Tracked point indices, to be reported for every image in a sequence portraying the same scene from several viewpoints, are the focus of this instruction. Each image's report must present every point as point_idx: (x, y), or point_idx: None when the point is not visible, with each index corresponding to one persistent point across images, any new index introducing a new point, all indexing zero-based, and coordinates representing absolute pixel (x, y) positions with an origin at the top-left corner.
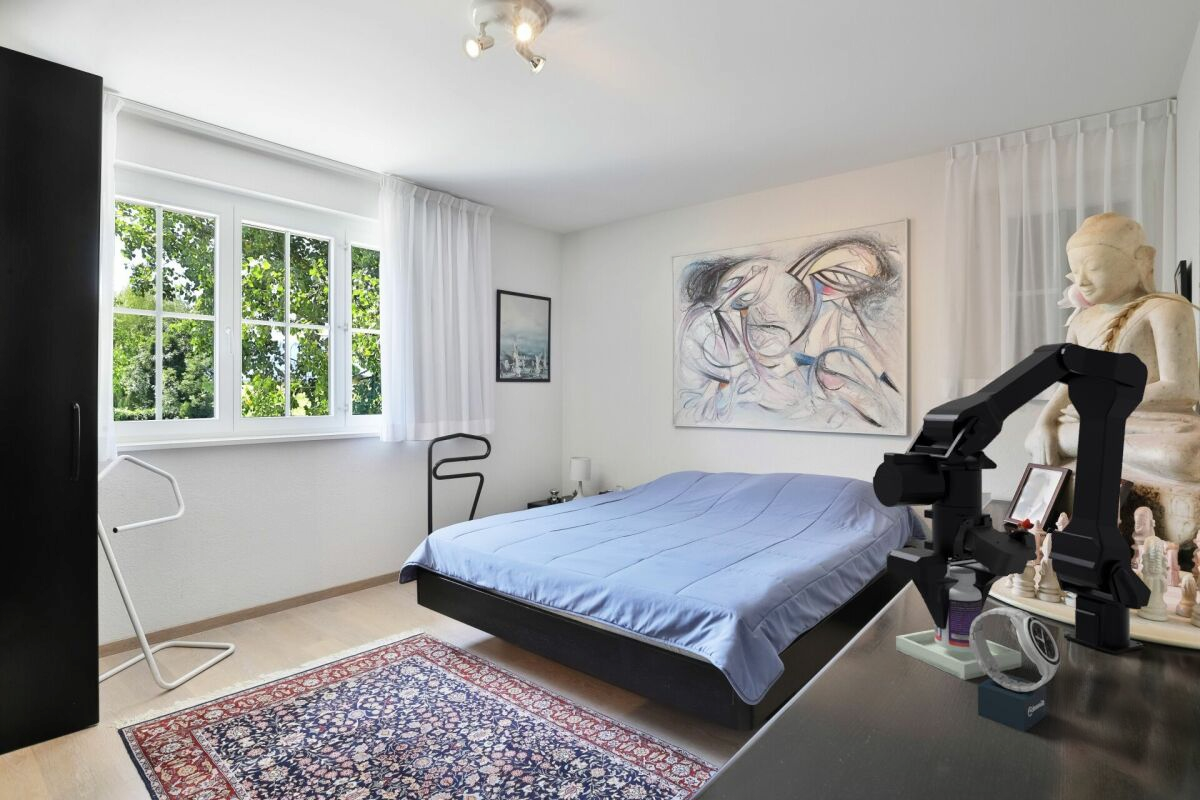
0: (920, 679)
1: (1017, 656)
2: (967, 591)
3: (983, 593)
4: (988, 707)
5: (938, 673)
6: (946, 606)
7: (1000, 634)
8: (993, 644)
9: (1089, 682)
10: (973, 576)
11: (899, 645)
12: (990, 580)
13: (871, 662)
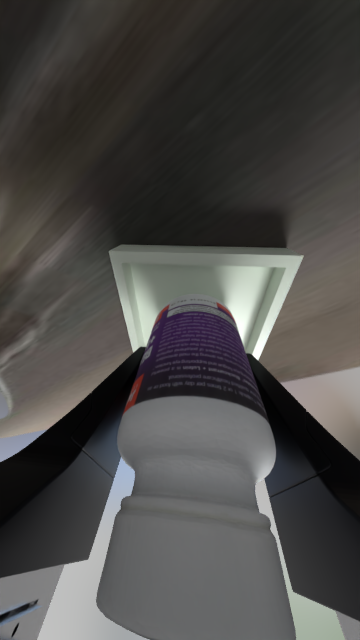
0: (347, 285)
1: (123, 250)
2: (227, 455)
3: (99, 414)
4: None
5: (289, 288)
6: (286, 405)
7: (57, 338)
8: (130, 302)
9: (20, 90)
10: (171, 587)
11: None
12: (35, 491)
13: (323, 351)
